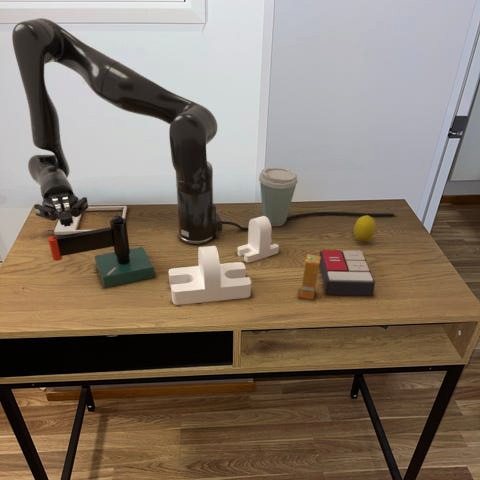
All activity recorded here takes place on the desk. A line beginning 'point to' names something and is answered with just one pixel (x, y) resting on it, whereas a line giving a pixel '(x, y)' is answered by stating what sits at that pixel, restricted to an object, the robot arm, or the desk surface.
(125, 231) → the black l-shaped bar
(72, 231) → the photo frame
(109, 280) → the stand
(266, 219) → the cable organizer
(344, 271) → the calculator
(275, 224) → the disposable coffee cup
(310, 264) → the supplement box
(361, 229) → the lemon
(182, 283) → the white slotted bracket
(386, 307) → the desk surface
